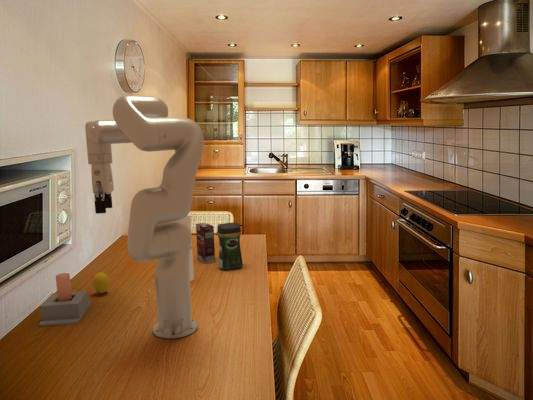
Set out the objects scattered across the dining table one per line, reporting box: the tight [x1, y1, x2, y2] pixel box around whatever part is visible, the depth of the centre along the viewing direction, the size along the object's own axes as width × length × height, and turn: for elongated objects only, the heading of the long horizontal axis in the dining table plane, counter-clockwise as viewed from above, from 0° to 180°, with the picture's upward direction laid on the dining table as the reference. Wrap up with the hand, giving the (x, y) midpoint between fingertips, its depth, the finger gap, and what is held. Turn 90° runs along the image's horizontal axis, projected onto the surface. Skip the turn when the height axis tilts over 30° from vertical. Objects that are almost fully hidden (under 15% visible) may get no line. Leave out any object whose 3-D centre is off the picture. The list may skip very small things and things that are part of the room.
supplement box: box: [195, 222, 216, 264], centre depth 200 cm, size 9×5×16 cm, turn 33°
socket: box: [38, 290, 92, 327], centre depth 146 cm, size 16×11×5 cm
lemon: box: [92, 271, 110, 295], centre depth 163 cm, size 6×6×8 cm
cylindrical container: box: [178, 213, 195, 282], centre depth 174 cm, size 7×7×25 cm
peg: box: [55, 272, 72, 302], centre depth 145 cm, size 4×4×12 cm
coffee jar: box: [216, 221, 244, 271], centre depth 189 cm, size 10×8×19 cm
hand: (104, 210), depth 155 cm, fingers open, 9 cm apart
